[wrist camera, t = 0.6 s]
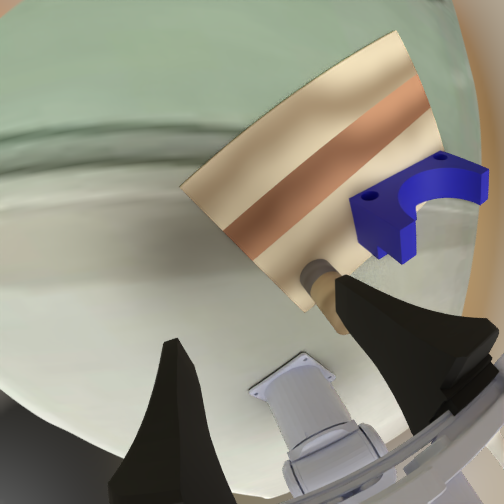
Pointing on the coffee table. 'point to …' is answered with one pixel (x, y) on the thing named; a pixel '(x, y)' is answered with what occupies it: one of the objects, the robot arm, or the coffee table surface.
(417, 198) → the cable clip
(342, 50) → the coffee table surface
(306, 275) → the cylindrical peg
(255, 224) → the plywood sheet
